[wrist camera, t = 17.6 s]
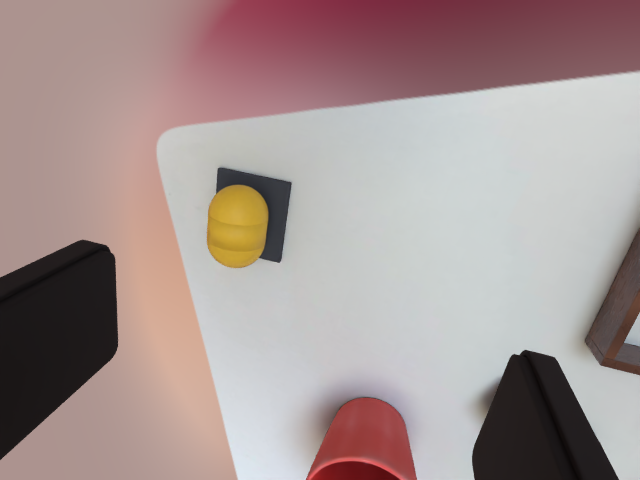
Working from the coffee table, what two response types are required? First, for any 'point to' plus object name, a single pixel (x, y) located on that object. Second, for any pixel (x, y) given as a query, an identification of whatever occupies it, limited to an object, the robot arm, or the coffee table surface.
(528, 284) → the coffee table surface
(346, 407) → the flower pot
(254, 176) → the mat
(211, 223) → the yellow grooved capsule
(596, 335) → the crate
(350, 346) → the coffee table surface
